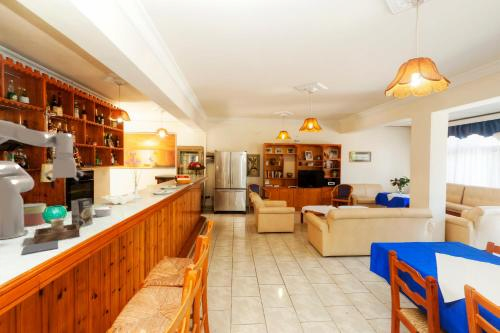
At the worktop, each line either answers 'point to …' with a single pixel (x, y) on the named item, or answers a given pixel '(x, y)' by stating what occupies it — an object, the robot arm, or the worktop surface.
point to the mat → (40, 247)
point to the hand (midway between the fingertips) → (65, 188)
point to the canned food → (33, 214)
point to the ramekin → (103, 211)
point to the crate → (56, 234)
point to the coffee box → (82, 212)
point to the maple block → (57, 225)
